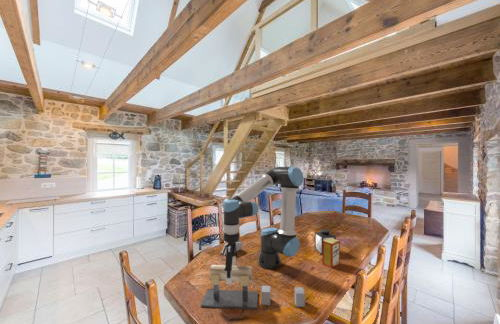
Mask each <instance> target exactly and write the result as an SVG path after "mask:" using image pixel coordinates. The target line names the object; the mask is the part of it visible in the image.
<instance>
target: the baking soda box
mask: <svg viewBox="0 0 500 324" xmlns="http://www.w3.org/2000/svg"><path fill="white" fill-rule="evenodd" d="M340 260H341V240H338V239H337V238H336V239H333V238H330V239H327V240H324V241H323V255H322V265H323V266H325V267H327V266H328V268H329V267H330V268H329V269H334V268H336V267H338V266H340V265H341V261H340ZM339 264H340V265H339ZM337 265H338V266H337ZM335 266H336V267H335ZM333 267H334V268H333Z"/></svg>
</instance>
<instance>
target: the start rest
mask: <svg viewBox="0 0 500 324" xmlns="http://www.w3.org/2000/svg"><path fill="white" fill-rule="evenodd" d="M294 303H295V306H296V307H297V308H299V307H300V308H302V307H303V308H305V307H306V292H305V290H304V287H299V286H297V287H294ZM261 305H262V306H271V286H270V285H261Z"/></svg>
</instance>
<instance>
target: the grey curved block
mask: <svg viewBox="0 0 500 324" xmlns="http://www.w3.org/2000/svg"><path fill="white" fill-rule="evenodd" d="M227 245H228V243H227V242H226V243H225V244H224V245H223V248H222V251H220V254H221V253H222V254H223V256H224V257H226V256H225V255H226V252H227V249H226V248H227ZM242 249H243V242H242V240H240V239H239V240H238V241H237V242H236V251H237V252H239V250H240V251H242ZM222 254H221V255H222Z"/></svg>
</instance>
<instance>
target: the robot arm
mask: <svg viewBox="0 0 500 324" xmlns="http://www.w3.org/2000/svg"><path fill="white" fill-rule="evenodd" d="M303 183H304V174H303V171H302V170H301V169H300V168H299V167H296V166H276V167H274V168H272V169H270V170H268V171H266V172H264V173H263V174H262V175H261V177H259V179H258V180H256V181H255V182H253V183H251V184H250V185H249V186H247V187H246V188H244V189H243V190H241V191H240V192H239V193H237V194H236V195H234V196H232V197H228V198H225V199H223V201H222V208H223V225H222V228H223V241H224V242H225V243H226V244H227V243H228V245H227V248H226V249H227V252H226V256H225V265H226V266H225V269H224V270H225V271H226V281H225V285H233V281H232V266H237V256H238V251H236V242H237V241H238V240H240V220H241V219H244V218H248V217H253V216H256V215H257V214H258V213H259V205H258V204H257V202H255V201H252V200H253V199H254V198H256V197H257V196H258V195H260V194H261V193H262V192H264V191H265V190H266V189H268V188H271V187H273V186H275V185H280V186H279V188H280V189H281V190H282V191H281V205H280V206H281V208H280V209H281V211H280V225H279V228H277V227H266V228H262V229H261V232H260V253H259V256H258V260H257V263H258V265H259V267H261V268H263V269H268V270H269V269H270V270H273V269H278V268H280V266H282V259H281V256H280V254H281V255H283V256H287V257H289V258H292V257H294V256H296V254H297V253H298V252H299V249H300V246H301V244H300V243H301V242H300V239H299V238H298V237H297V232H296V231H295V221H296V220H295V219H296V218H295V217H296V201H297V192H298V190H300V186H302V185H303Z"/></svg>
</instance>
